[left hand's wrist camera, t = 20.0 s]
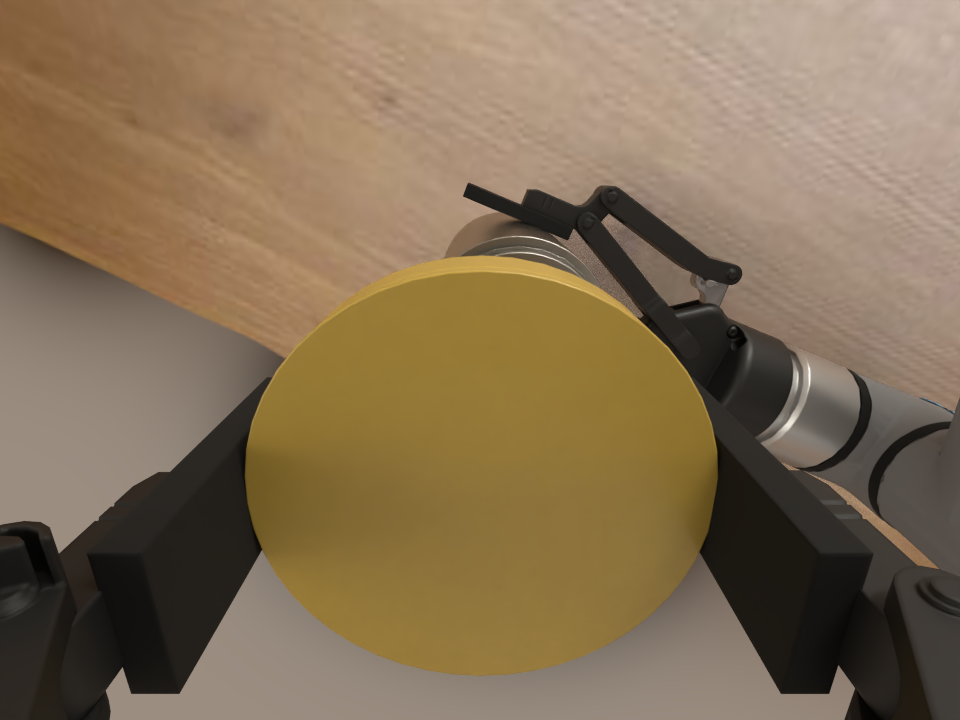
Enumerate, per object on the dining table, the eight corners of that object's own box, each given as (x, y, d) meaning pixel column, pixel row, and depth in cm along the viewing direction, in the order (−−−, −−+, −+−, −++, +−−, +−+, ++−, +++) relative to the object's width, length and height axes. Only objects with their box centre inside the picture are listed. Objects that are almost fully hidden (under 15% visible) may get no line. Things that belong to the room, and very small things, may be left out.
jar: (424, 241, 38) (384, 287, 22) (537, 192, 37) (579, 205, 21) (470, 346, 41) (464, 455, 25) (577, 304, 40) (641, 390, 24)
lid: (774, 393, 12) (822, 429, 10) (542, 666, 14) (550, 728, 13) (392, 161, 10) (375, 160, 8) (215, 521, 13) (176, 571, 11)
